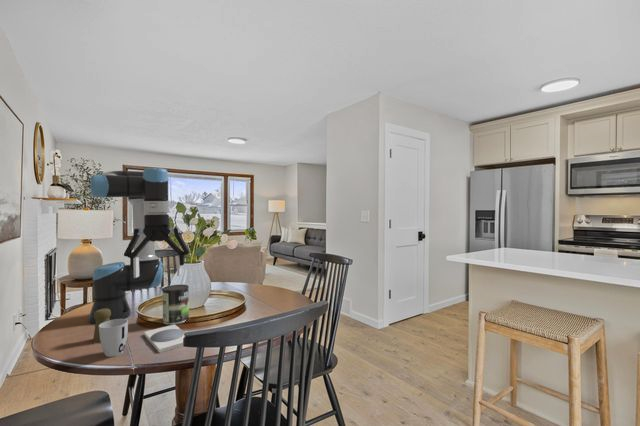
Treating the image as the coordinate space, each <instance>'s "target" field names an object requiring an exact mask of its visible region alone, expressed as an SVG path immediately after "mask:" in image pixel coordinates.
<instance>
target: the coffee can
mask: <svg viewBox="0 0 640 426" xmlns="http://www.w3.org/2000/svg"><path fill="white" fill-rule="evenodd" d="M161 291H162V292H161V293H162V295H161V296H162V324H164V325H166V326H170V325H174V324H175V325H179V324H184V323H185V321H186V319H187V318H188V317H189V318H190V303H189V301H190V300H189V297H190V295H189V285H188V284H172V285H167V286H164V287H162V288H161ZM186 322H187V321H186Z"/></svg>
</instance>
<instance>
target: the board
mask: <svg viewBox="0 0 640 426" xmlns="http://www.w3.org/2000/svg"><path fill="white" fill-rule="evenodd" d="M184 333H186V332H185V331H184V329H181V327H179V326H177V324H174V325H166V326H161V327H158V328H155V329H150V330H147V331H143V334H144V337H145V338H146V340H148V341H149V342H150V344H151V345H152V346H153V347H154V348H155V350H156V351H157V352H158V353H164V352H167V351H171V350H174V349H177V348H181V347H184V346H183V338H184Z"/></svg>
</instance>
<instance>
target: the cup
mask: <svg viewBox="0 0 640 426" xmlns="http://www.w3.org/2000/svg"><path fill="white" fill-rule="evenodd" d="M128 328H129V320H128V319H127V318H124V319H114V320H110V321H106V322H103V323H101V324H100V325H99V334H100V341H101V343H100V344H101V347H102V352H103V353H104V355H105V357H108V358H113V357H116V356H120V355H121V354H123V353H124V352H125V348H126V344H127V340H128V334H129V333H128V332H129V331H128V330H129V329H128Z"/></svg>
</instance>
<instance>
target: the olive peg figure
mask: <svg viewBox="0 0 640 426" xmlns="http://www.w3.org/2000/svg"><path fill="white" fill-rule="evenodd" d="M110 316H111V310H110V309H99V310H97V311H95V313H94V318H95V319H96V323H94V324H95V325H94V332H93V340H92V342H93V343H95V344H101V341H100V334H99V325H100V324H101V323H103V322H106V321H110V318H109V317H110Z"/></svg>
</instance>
